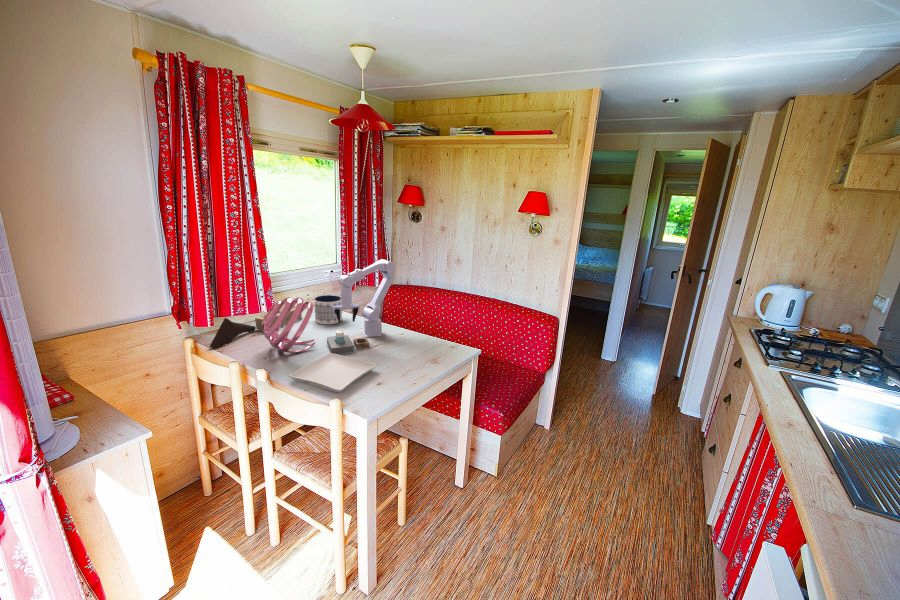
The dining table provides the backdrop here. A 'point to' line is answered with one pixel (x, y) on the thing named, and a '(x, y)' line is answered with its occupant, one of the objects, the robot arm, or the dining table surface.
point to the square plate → (333, 372)
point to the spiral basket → (275, 328)
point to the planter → (327, 309)
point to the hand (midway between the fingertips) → (346, 321)
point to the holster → (229, 332)
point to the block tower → (260, 319)
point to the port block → (340, 345)
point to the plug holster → (361, 343)
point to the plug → (339, 336)
